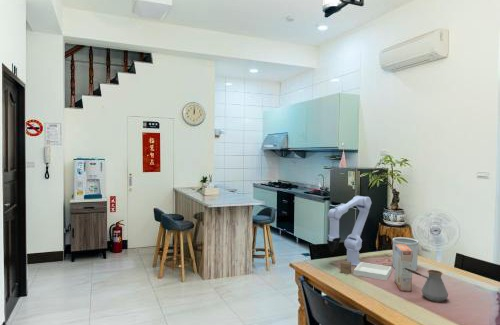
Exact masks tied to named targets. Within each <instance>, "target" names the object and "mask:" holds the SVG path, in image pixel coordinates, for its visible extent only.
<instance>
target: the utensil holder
mask: <svg viewBox="0 0 500 325" xmlns="http://www.w3.org/2000/svg"><path fill="white" fill-rule="evenodd" d="M391 242H392V268H394V269H395V244H403V245H407V246H408V247H409V248H410V249H411V250H412V251H413V255H412V270H413V271H416V272H417V270H418V254H419V253H418V251H419V244H420V243H419V240H418V239H415V238H411V237H401V236H399V237H398V236H397V237H393V238H392V240H391Z"/></svg>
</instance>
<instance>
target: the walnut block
mask: <svg viewBox="0 0 500 325" xmlns="http://www.w3.org/2000/svg"><path fill="white" fill-rule="evenodd" d="M339 268H340V269H339V270H340V272H339V273H340V274H343V273H344V274H345V275H350V274H351V273H352V265H351V262H347V260H342V261H340V266H339Z"/></svg>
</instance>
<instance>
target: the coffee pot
mask: <svg viewBox="0 0 500 325" xmlns="http://www.w3.org/2000/svg"><path fill="white" fill-rule="evenodd" d="M405 269H406V270H408V271H410V272H412V274H415V275H417V276H420V277H422V278H425V279H426V280H425V282H424V285H423V286H422V289H421V293H422V295H423V296H424V297H425V298H426V299H427V300H430V301H432V302H444V301H445V300H446V299H448V297H449V293H448V290H447V289H446V286H445V284H444V282H443V281H444V280H443V279H442V275H443V271H440V270H437V269H436V270H435V269H428V270H427V274H428V276H426V275H424V274H422V273H419V272H417V270H416V271H413V270H410V269H407V268H405ZM403 270H404V269H403ZM406 270H405V271H406ZM403 272H404V271H403Z"/></svg>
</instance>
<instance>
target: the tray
mask: <svg viewBox="0 0 500 325" xmlns="http://www.w3.org/2000/svg"><path fill="white" fill-rule="evenodd" d="M392 268H393V266H390V265H382V264H376V263H369V262H361V261H360V263H359V264H358V266H356V267H355V268H354V269H353V276H357V277H364V278H369V279H373V280H374V279H375V280H381V281H388V278H389V277H390V275H391V273H392V270H393V269H392Z"/></svg>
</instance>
